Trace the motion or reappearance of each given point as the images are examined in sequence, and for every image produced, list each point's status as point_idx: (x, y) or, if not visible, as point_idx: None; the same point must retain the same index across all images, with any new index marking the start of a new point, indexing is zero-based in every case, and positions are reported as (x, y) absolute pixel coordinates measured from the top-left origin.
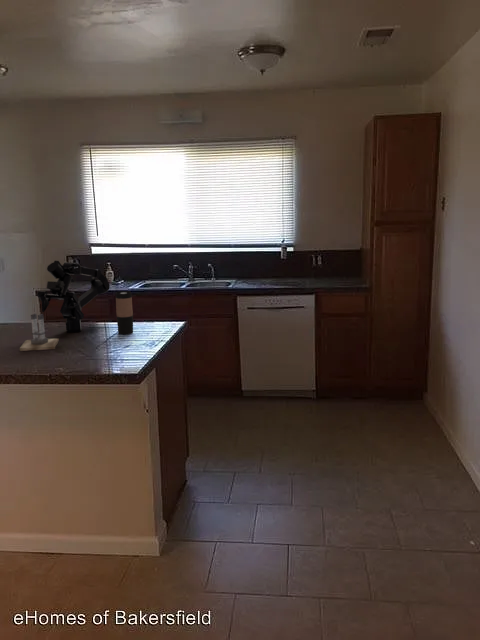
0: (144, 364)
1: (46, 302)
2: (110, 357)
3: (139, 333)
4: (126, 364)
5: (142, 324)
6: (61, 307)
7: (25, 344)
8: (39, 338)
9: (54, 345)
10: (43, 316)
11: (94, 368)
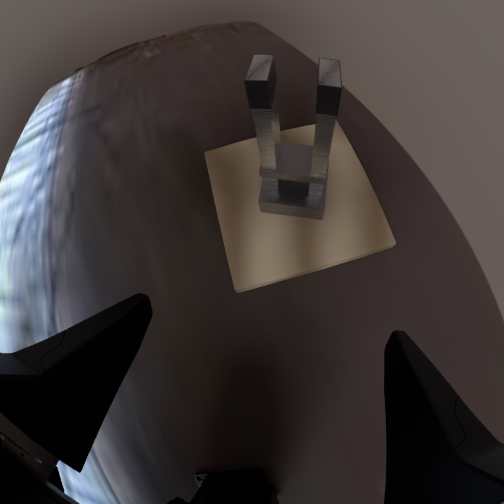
0: (27, 123)
1: (415, 487)
2: (57, 134)
3: None
4: (46, 112)
5: None
6: (110, 322)
7: (349, 167)
8: (297, 184)
9: (207, 167)
10: (247, 95)
11: (92, 76)
